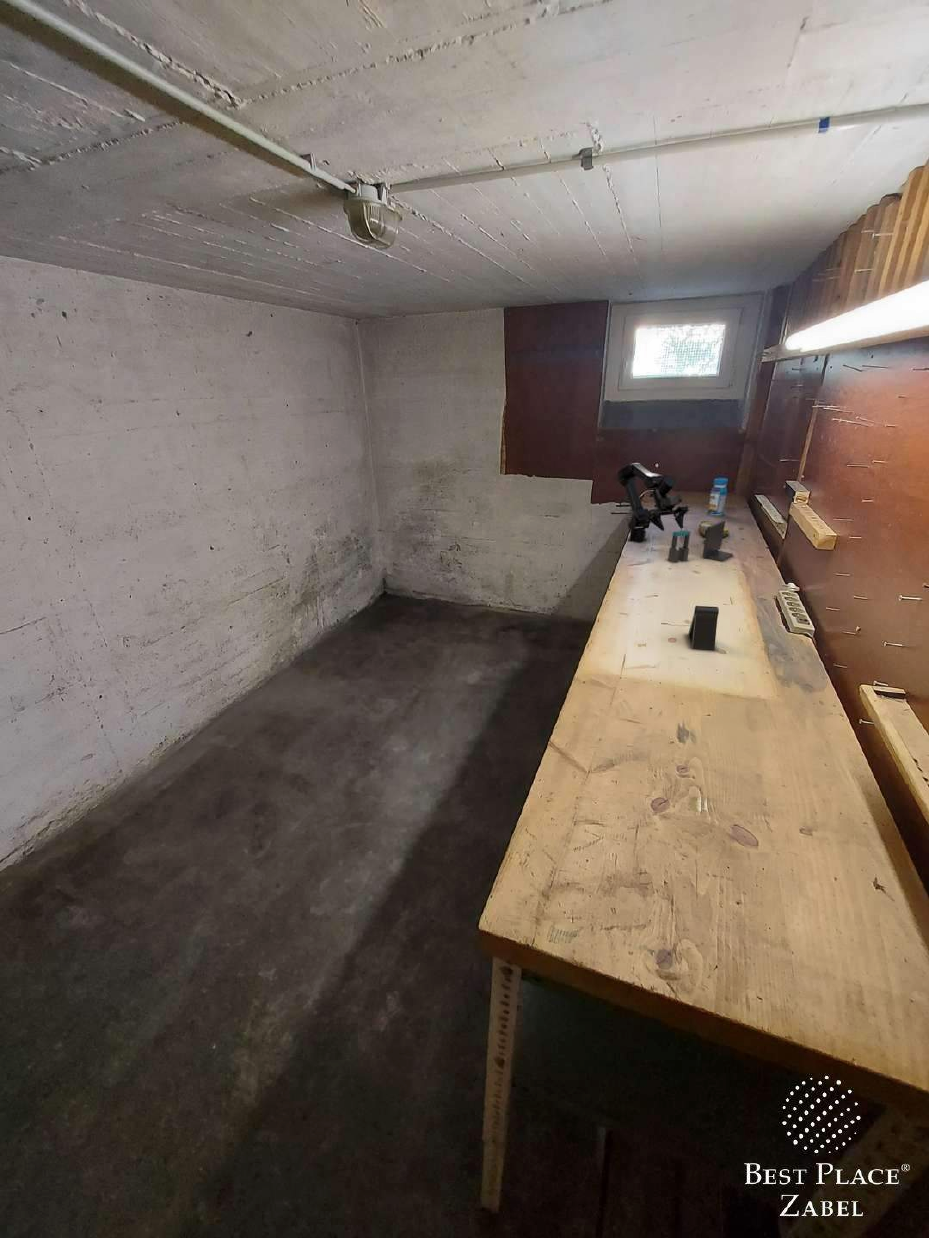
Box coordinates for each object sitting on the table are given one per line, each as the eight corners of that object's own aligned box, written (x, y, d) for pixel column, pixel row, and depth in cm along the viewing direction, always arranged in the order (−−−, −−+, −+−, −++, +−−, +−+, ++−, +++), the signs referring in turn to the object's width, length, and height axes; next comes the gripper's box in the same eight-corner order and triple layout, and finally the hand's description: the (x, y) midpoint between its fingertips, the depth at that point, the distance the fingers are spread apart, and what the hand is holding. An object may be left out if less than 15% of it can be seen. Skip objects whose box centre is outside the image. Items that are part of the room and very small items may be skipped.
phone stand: (687, 635, 152) (693, 600, 147) (708, 636, 151) (715, 601, 146) (692, 648, 145) (698, 612, 139) (714, 650, 143) (721, 614, 138)
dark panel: (690, 556, 218) (696, 525, 211) (705, 549, 226) (710, 518, 219) (720, 562, 209) (726, 530, 202) (734, 555, 217) (740, 523, 210)
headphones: (667, 559, 215) (671, 531, 210) (681, 558, 217) (686, 529, 211) (673, 562, 212) (677, 533, 206) (687, 560, 213) (691, 532, 207)
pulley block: (697, 531, 230) (701, 516, 254) (693, 542, 233) (698, 526, 257) (729, 538, 225) (730, 522, 249) (724, 549, 228) (726, 533, 251)
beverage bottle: (723, 516, 276) (730, 480, 267) (707, 515, 278) (713, 480, 270) (722, 512, 283) (728, 477, 274) (706, 512, 286) (712, 477, 277)
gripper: (651, 491, 210) (663, 522, 205) (689, 487, 214) (701, 517, 209) (639, 505, 221) (650, 535, 216) (676, 501, 224) (687, 530, 219)
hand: (672, 529), depth 214 cm, fingers open, 9 cm apart
